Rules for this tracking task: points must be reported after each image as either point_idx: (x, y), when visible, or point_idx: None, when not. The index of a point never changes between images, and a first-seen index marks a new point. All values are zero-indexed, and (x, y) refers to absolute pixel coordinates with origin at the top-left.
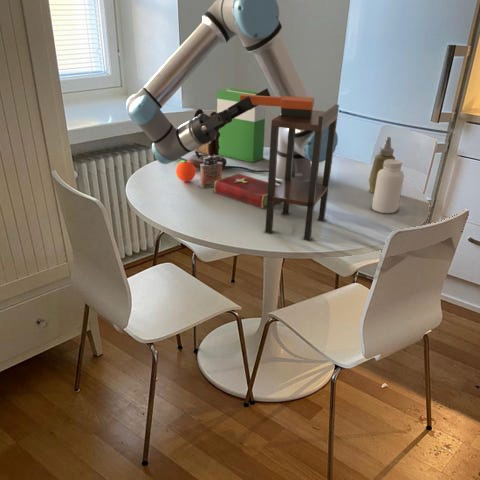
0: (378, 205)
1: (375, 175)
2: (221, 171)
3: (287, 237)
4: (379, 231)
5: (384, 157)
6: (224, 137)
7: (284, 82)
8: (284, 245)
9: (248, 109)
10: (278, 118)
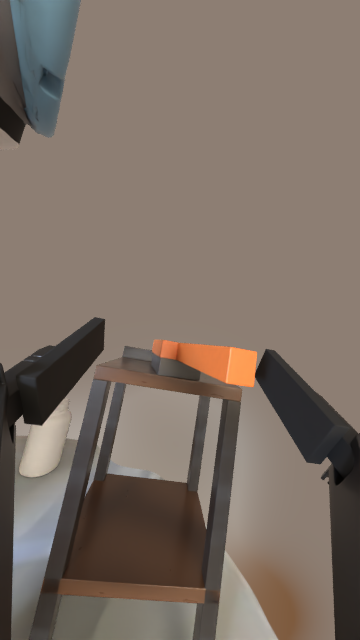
0: (54, 462)
1: None
2: None
3: (195, 615)
4: (119, 470)
5: None
6: None
7: None
8: (233, 607)
9: (265, 388)
10: (220, 383)
